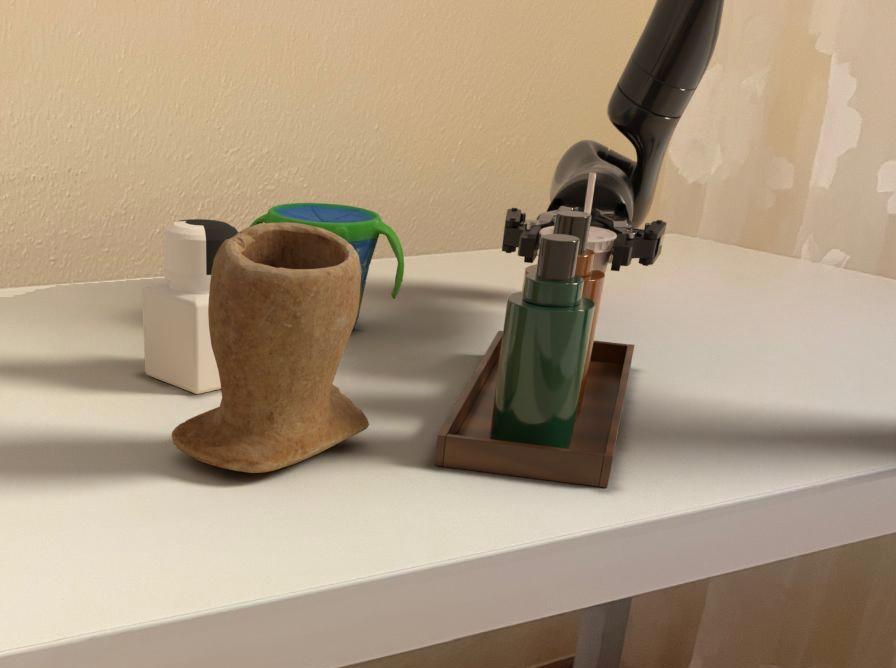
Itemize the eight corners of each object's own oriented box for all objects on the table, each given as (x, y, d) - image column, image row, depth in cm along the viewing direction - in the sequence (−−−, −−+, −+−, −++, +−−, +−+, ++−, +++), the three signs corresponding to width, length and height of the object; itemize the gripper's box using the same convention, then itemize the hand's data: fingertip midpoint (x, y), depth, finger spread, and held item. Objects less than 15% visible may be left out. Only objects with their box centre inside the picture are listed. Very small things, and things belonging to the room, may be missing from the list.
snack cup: (411, 324, 118) (421, 211, 112) (379, 349, 110) (387, 229, 104) (265, 305, 122) (267, 195, 117) (223, 328, 114) (223, 211, 108)
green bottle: (587, 446, 88) (624, 240, 80) (536, 463, 85) (569, 249, 77) (523, 425, 92) (552, 225, 83) (472, 440, 88) (497, 234, 80)
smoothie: (610, 363, 101) (639, 179, 93) (537, 366, 100) (561, 181, 92) (583, 342, 106) (609, 166, 98) (514, 344, 105) (534, 167, 97)
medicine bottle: (209, 361, 105) (207, 211, 98) (262, 380, 101) (265, 225, 94) (143, 375, 101) (137, 219, 94) (196, 395, 97) (194, 234, 90)
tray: (495, 355, 110) (498, 330, 109) (629, 369, 107) (634, 344, 106) (434, 465, 85) (437, 435, 84) (607, 488, 83) (613, 456, 82)
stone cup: (277, 503, 78) (283, 257, 70) (149, 458, 84) (141, 226, 76) (410, 448, 88) (430, 226, 79) (287, 411, 94) (293, 201, 85)
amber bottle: (597, 407, 96) (631, 216, 88) (551, 421, 93) (582, 224, 84) (538, 389, 99) (566, 204, 91) (491, 402, 96) (516, 211, 88)
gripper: (517, 165, 109) (490, 194, 96) (679, 178, 106) (674, 209, 93) (506, 254, 113) (479, 293, 100) (661, 268, 110) (654, 311, 97)
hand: (573, 253), depth 96 cm, fingers closed on smoothie, 6 cm apart
